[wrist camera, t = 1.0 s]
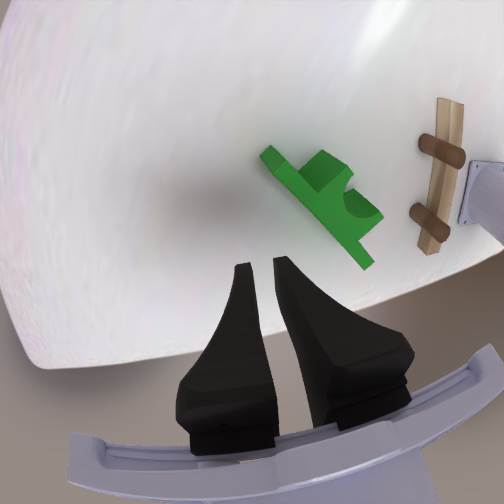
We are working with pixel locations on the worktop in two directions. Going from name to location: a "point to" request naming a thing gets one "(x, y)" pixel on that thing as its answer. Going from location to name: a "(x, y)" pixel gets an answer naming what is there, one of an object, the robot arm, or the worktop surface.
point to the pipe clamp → (329, 198)
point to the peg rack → (440, 175)
